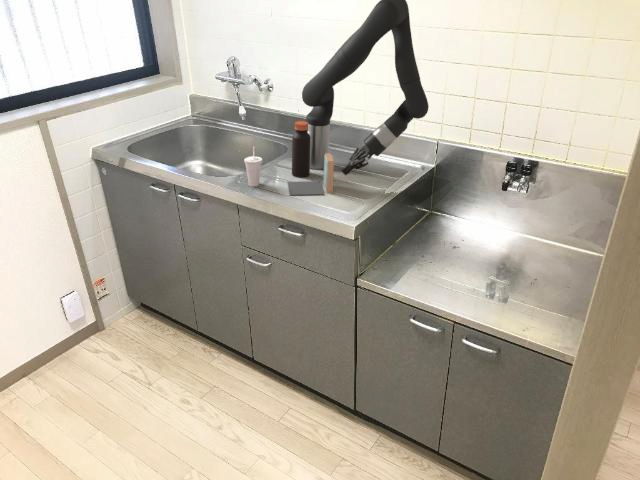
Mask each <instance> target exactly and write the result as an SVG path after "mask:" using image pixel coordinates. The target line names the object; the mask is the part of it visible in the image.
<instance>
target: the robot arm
mask: <svg viewBox="0 0 640 480" xmlns="http://www.w3.org/2000/svg"><path fill="white" fill-rule="evenodd" d="M410 20H411V19H410V10H409V5H408V2H407V0H379V1H378V2H377V3H376V4H375V5H374V7H373V8H372V10H371V12H369V14H368V16H367V17H366V19H365V20H364V22H363V23H362V24H361V26H360V27H358V29H357V30H356V31H355V32H354V33H352V34H351V35H350V36H349V37H348V38H347V40H345V42H344V43H343V44H342V45H341V46H340V47H339V48H338V50H337V51H336V52H335V53H334V55H332V57H331V58H330V59H329V60H328V61H327V62H326V63H325V65H324V66H323V67H322V68H321V70H319V72H318V73H316V75H314V76H313V77H312V78H311V79H310V80H309V81H308V82H306V84H305V85H304V87H303V88H302V91H301V92H302V93H301V99H302V101H303V103H304V104H305V105H306V106H308V107H312V108H311V111H310V112H309V113H308V114H307V115H306V118H305V122H308V131H307V133H308V134H309V135H310V137H311V140H310V169H313V170H322V169H323V170H324V156H325V153H329V151H330V134H331V133H330V128H331V120H332V116H333V113H334V103H335V102H334V100H335V90H334V86H336V85H337V84H338V83H340V82H342V81H343V80H345V79H347V78H348V77H349V76H351V75H352V74H353V73H355V72H356V71H357V70H358V69H359V68H360V67H361V66H362V65H363V64H364V63H365V61H366V60H367V59H368V57H369V56H370V54H371V52H372V51H373V48H374V47H375V45H376V44H377V43H378V42H379V41H380V40H381V39H382V38H383V37H384V36H385V35H386V34H388V33H389V32H390V31H391V33H392V36H393V43H394V65H395V66H394V67H395V73H396V77H397V81H398V83H399V87H400V89H401V91H402V93H403V95H404V100H403V101H402V102H401V104H400V105H399V106H398V108H396V109H395V111H394V112H393V114H392V115H391V116H389V117H388V118H386V120H385V121H384V122H382V123H381V124H380V125H379V126H377V127H376V128H375V129H374V130H373V131H372V132H371V133H369V135H368V136H367V137H365V139H364V140H363V143H364V145H363V146H362V147H360V148H359V147H356V149H355V150H354V152H353V153H352V155H351V156H350V158H349V162H348V163H347V165H345V167H343V168H342V169H341V172H342V173H343V174H344V176H348V175H349V174H350V173H351V172H352V171H353V170H360V169H361V168H363V167H366V166H367V165H369V164H370V163H369V162H368V161H369V160H370V159H371V158H372V157H373V155H374V156H376V157H378V156H380V155H381V154H382V153H383V152H384V151H386V149H388V148H389V147H390V146H391V145H392V144H393V143H394V142H395V141H396V140H397V139H398V138H399V137H400V136H401V135H402V134H403V133H404V132H405V131H406V130H407V129H408V126H409V124H410V123H411V121H413V119H418V120H419V119H423V118H424V117H425V116H426V115H428V114H427V113H428V112H429V107H430V106H429V101H428V97H427V95H426V93H425V90H424V87H423V86H422V81H421V77H420V73H419V69H418V65H417V60H416V55H415V51H414V45H413V44H414V43H413V37H412V29H411V21H410Z"/></svg>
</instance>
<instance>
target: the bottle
mask: <svg viewBox="0 0 640 480" xmlns="http://www.w3.org/2000/svg"><path fill="white" fill-rule="evenodd" d="M294 131H295V132H294V133H293V134H292V136H291V139H292V140H291V148H292V149H291V175H292V176H294V177H296V178H306V177H308V176H310V171H311V168H310V140H311V137H310V135H309V134H308V133H307V131H308V122H306V121H302V120H299V121H295V122H294Z"/></svg>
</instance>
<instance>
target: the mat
mask: <svg viewBox="0 0 640 480" xmlns="http://www.w3.org/2000/svg"><path fill="white" fill-rule="evenodd" d="M287 187H288V192H289V196H291V197H293V196H295V197H296V196H298V197H299V196H325V192H324V190H323V185H322V183H321V181H320V180H316V181H315V180H314V181H313V180H311V181H309V180H308V181H306V180H305V181H302V180H301V181H287Z"/></svg>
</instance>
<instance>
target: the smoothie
mask: <svg viewBox="0 0 640 480" xmlns="http://www.w3.org/2000/svg"><path fill="white" fill-rule="evenodd" d="M255 149H256V148H255V146H252V155H251V156H250V155H249V156H247V157H245V158H244V160H243V161H244V164H245V168H246V169H245V170H246V175H247V180H248V186H250V187H258V186H259V185H260V180H261V172H262V171H261V170H262V164H263V158H262V157H260V156H255V155H256V154H255V153H256V151H255Z"/></svg>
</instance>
